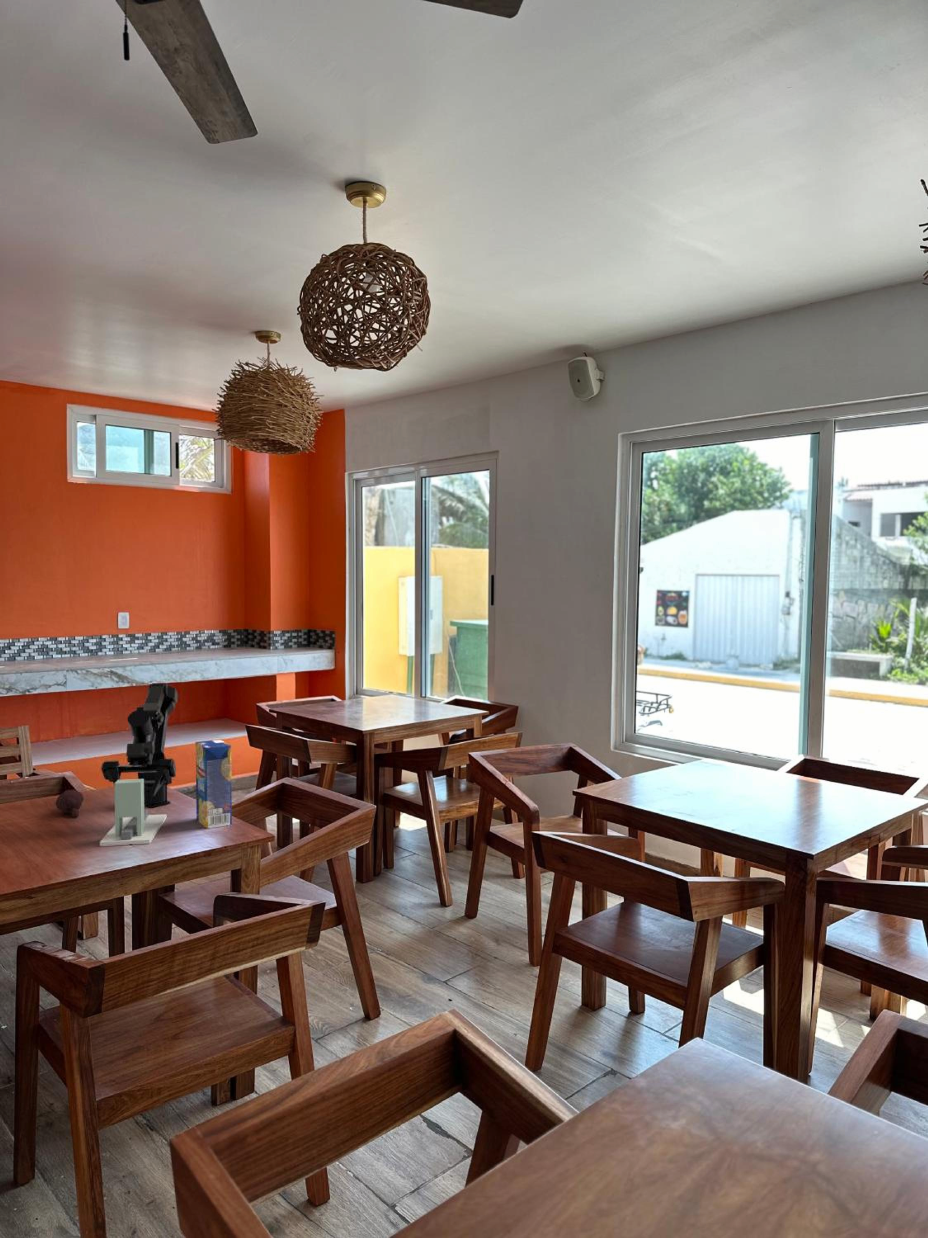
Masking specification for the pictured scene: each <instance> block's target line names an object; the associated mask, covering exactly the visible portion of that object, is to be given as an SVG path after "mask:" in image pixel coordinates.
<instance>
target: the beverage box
mask: <svg viewBox="0 0 928 1238" xmlns="http://www.w3.org/2000/svg"><path fill="white" fill-rule="evenodd" d="M195 788H196V789H195V798H196V799H195V802H196V803H195V804H196V807H195V810H196V814H195V815H196V820H197V821H198V822H199V823H200V824H201V825H202V826H203V825H204V826H203V827H204V828H206V829H214V828H219V827H226V825H228V826H232V825H233V808H232V807H233V806H232V804H233V803H232V802H233V801H232V799H233V797H232V795H233V793H232V745H230V744H228V743H227V742H225V741H223V740H221V739H214V740H213V739H212V740H204V741H203V740H202V741H195Z"/></svg>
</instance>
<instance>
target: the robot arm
mask: <svg viewBox="0 0 928 1238" xmlns="http://www.w3.org/2000/svg"><path fill="white" fill-rule="evenodd" d="M148 686H149V687H148V688H147V695H146V697H145V700H144V704H143V705H140V706H137V707H136V710H133V711H132V712H131V713H130V714H128V716H127V722H128V723H127V724H128V726H129V730H130V733H131V735H132V737H133V740H132V743H127V744H126V755H125V756H126V757H127V758H126V762H127V763H129V764H120V761H119V760H105V761H104V762H102V763H101V768H100V770H101V772H102V776H103V778H104V780H107V781H108V782H109V783H113V787H114V789H115V784H114V783H115V782H116V781H117V780H122V779H121V775H122V773H123V774H124V773H125V774H126V773H127V774H129V773H137V779H144V807H147V808H148V807H149V808H156V807H160V806H164V805H168V804H171V801H170V800H168V785H171V784H173V779H172V778H175V777H176V775H177V766H176V763H175V760H174V759H173V758H166V756H165V753H164V752H165V745H166V737H167V729H168V723H169V722H168V721H169V716H170V715H171V714H172V713H173V712H174V710H175V708H176V704H177V703H178V701H179V700H178V691H177V689H176V688H175V687H172V686H170V685H169V684H168V683H165V682H153V683H149V685H148Z"/></svg>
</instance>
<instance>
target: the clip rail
mask: <svg viewBox="0 0 928 1238" xmlns="http://www.w3.org/2000/svg"><path fill="white" fill-rule="evenodd" d="M166 820H167V813H166V814H149V809H148V808H144V827H145V831H144V833H143V834H142V836H137V817H125V818H123V830H122V831H121V836H120V837H115V824H114V825H113V826H112V827H111V828H110V829H109V831H108V832H107V833H106V834H105V836H103V838H102V839H101V840H100V841H99V847H108V846H110V847H112V846H113V847H114V846H128V845H129V844H133V845H143V844H144V845H150V844H151V843H152V841H153V839H154V837H155V836H156V835H157V834H158V832H159V830H160V829H161V827H162V826H163V824H164V823H165V821H166Z"/></svg>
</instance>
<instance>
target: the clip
mask: <svg viewBox="0 0 928 1238" xmlns="http://www.w3.org/2000/svg"><path fill="white" fill-rule="evenodd" d="M114 784H115V788H114V825H115V837H120V836H121V831H122V830H123V818H125V817H137V836H142V834H143V833H144V831H145V827H144V809H145V806H144V779H138V778H133V779H132V778H130V779H127V778H126V779H121V780H117V781H116V782H115V783H113V785H114Z"/></svg>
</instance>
